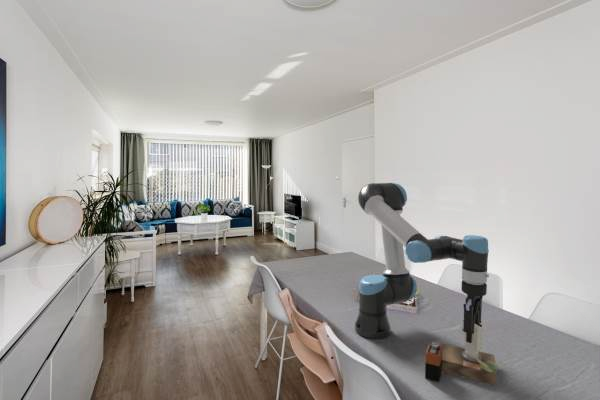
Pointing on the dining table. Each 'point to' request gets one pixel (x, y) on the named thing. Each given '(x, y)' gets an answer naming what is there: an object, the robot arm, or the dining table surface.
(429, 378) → the battery
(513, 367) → the dining table surface
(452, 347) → the board
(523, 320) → the dining table surface
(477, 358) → the peg knob
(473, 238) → the robot arm
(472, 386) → the dining table surface
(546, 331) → the dining table surface
